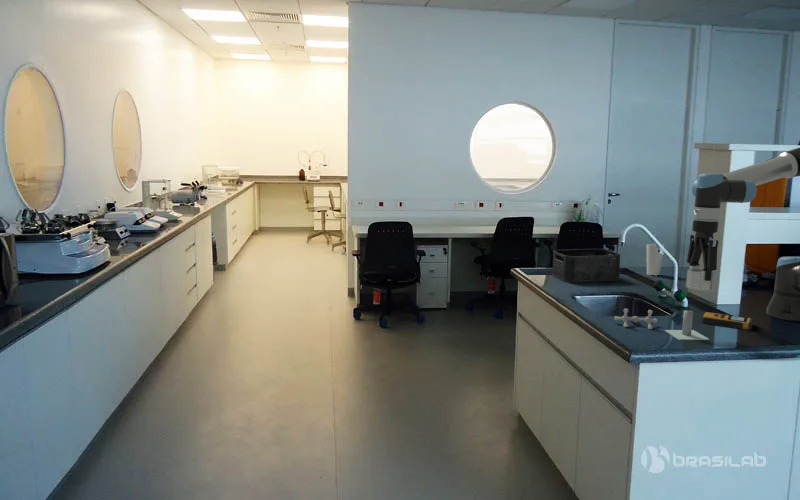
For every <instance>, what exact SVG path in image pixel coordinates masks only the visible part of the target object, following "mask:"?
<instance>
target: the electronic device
mask: <svg viewBox="0 0 800 500" xmlns="http://www.w3.org/2000/svg"><path fill="white" fill-rule="evenodd" d="M701 323H702V324H705V325H712V326H713V325H714V326H718V327H725V328H726V327H727V328H732V329H739V330H740V329H741V330H747V331H751V330H752V328H753V325H754V324H753V323H754V318H752V317H744V316H738V315H731V314H725V313H724V314H722V313H716V312H708V311H707V312H704V313H703V315H702V317H701Z"/></svg>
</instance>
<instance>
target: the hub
mask: <svg viewBox="0 0 800 500" xmlns="http://www.w3.org/2000/svg"><path fill="white" fill-rule="evenodd" d="M702 269H703V268H699V269H690V268H688V269H687V271H686V272H687V273H686V281H685V288H687V289H690V290H697V291H701V290H700V288H701V278H702ZM713 277H714V270H713V271H712V273H711V282H710V290H709V291H711V290H712V286H713V280H714V279H713Z"/></svg>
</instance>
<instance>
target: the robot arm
mask: <svg viewBox="0 0 800 500" xmlns="http://www.w3.org/2000/svg"><path fill="white" fill-rule="evenodd" d="M796 177H797V178H798V177H800V147H797V148H794V149H790V150H788V151H785V152H782V153H780V154H778V155H777V156H776V157H775V158H772V159H768V160H765V161H761V162H758V163H755V164H752V165H748V166H745V167H742V168H737V169H735V170H733V171H729V172H725V173H705V172H704V173H700V174H699V175H698V177H697V179H696V180H694V181H693V183H692V185H691V191H692V195H693V196H694V197H695V201H694V209H693V219H694V220H693V221H692V231H693V232H695V234H691V235H690V237H689V246H688V253H687V258H686V263H688V265H689V269H700V266H701V265H700V263H699V262H700V260H701V256H702V259H703V268H701V269H702V278H701V288H700V290H699V291H711V290H710V282H711V273H712V271H713V272H714V271H717V264H718V263H717V261H718V247H719V242H720V241H719V240H718V239H714V234H716V233H718V231H719V230H718V229H719V222H718V220H720V211H721V205H722V203H734V204H735V203H737V204H738V203H740V204H743V203H744V204H745V203H750V202H752V201H753V200H755V198H756V195H757V191H758V189H757V186H760V185H763V184H767V183H769V182H773V181H777V180H779V179H780V180H781V179H783V178H785V179H792V178H796ZM775 268H776V269H775V279H774V290H773V295H772V297H771V299H770V301H769V302H768V305H767V306H766V312H765V313H766V315H767V316H769V317H772V318H774V319H775V318H776V319H780V320H785V321H793V322H800V256H781V257H779V258H778V260H777V264H776V267H775Z"/></svg>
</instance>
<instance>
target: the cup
mask: <svg viewBox="0 0 800 500" xmlns="http://www.w3.org/2000/svg"><path fill="white" fill-rule="evenodd" d="M656 244H657V243H647V244H646V275H647V276H651V275H655V276H654V277H658V276H657V275H659V276H660V273H661V269H662V262H663V257H664V256H663V255H664V254H663V255H662V254H659V253H658V248H657V246H656ZM661 245H662V246H663V247H664V248H665V244H661Z"/></svg>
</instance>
